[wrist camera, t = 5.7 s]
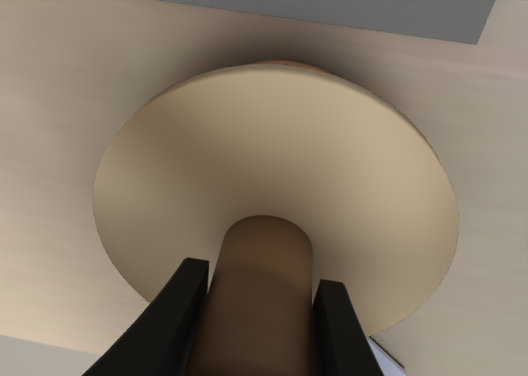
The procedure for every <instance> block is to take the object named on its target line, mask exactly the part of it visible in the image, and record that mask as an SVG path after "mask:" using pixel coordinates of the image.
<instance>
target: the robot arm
mask: <svg viewBox="0 0 528 376" xmlns="http://www.w3.org/2000/svg"><path fill="white" fill-rule="evenodd" d="M208 277H209V261H208V260H202V259H196V258H190V257H187V258H185V259H184V260H183V261H182V263H181V264H180V266H179V267H178V269H177V270H176V271H175V273H174V274H173V276H172V277H171V278H170V280H169V281H168V282H167V283H166V285H165V286H164V287H163V289H162V290H161V291H160V292H159V294H158V295H157V296H156V297H155V299H154V300H153V301H152V302H151V303H150V304H149V306H148V307H147V308H146V309H145V310H144V311H143V313H142V314H141V315H140V316H139V317H138V318H137V320H136V321H135V322H134V323H133V324H132V325H131V326H130V327H129V328H128V329H127V330H126V332H125V333H124V334H123V335H122V336H121V337H120V338H119V339H118V340H117V341H116V342H115V343H114V344H113V345H112V346H111V347H110V348H109V350H108V351H107V352H106V353H105V354H104V355H103V356H102V357H100V358H99V359H98V360H97V361H96V362H95V363H94V364H93V365H92V366H91V367H90V368H89V369H88V370H87V371H86V372H85V373H84V374H83V375H82V376H184V373H185V369H186V366H187V362H188V359H189V356H190V352H191V349H192V345H193V342H194V338H195V335H196V332H197V328H198V325H199V321H200V318H201V314H202V311H203V308H204V304H205V301H206V297H207V294H208ZM311 376H407V374H406V371H405V370H404V369H403V368H402V367H401V366H400V365H399V364H398V363H396V362H395V361H394V360H393V359H392V358H391V357H390V356H389V355H388V354H387V353H385V352H384V351H383V350H382V349H381V348H380V347H379V346H378V345H377V344H376V343H374V342H373V341H372V340H371V339H370V338H369V337H367V338H366V336H365V334H364V332H363V329H362V327H361V325H360V322H359V320H358V318H357V315H356V313H355V310H354V308H353V305H352V303H351V300H350V297H349V295H348V292H347V289H346V286H345V285H344V283H343V282H337V281H331V280H325V279H320V282H319V285H318V289H317V292H316V295H315V298H314V302H313V305H312V339H311Z"/></svg>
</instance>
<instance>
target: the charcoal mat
mask: <svg viewBox="0 0 528 376" xmlns="http://www.w3.org/2000/svg"><path fill="white" fill-rule="evenodd" d="M161 1H169V2H176V3H183V4H190V5H197V6H204V7H211V8H218V9H226V10H233V11H240V12H247V13H254V14H261V15H268V16H275V17H283V18H290V19H297V20H304V21H311V22H318V23H325V24H332V25H340V26H347V27H354V28H361V29H368V30H375V31H382V32H389V33H396V34H404V35H411V36H418V37H425V38H432V39H439V40H446V41H453V42H461V43H468V44H475V45H477V43H478V40H479V38H480V35H481V33H482V31H483V28H484V26H485V23H486V21H487V19H488V16H489V14H490V11H491V9H492V7H493V4H494V2H495V0H161Z"/></svg>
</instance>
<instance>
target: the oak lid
mask: <svg viewBox="0 0 528 376" xmlns="http://www.w3.org/2000/svg"><path fill="white" fill-rule="evenodd" d="M93 209H94V217H95V222H96V227H97V231H98V234H99V236H100V239H101V241H102V244H103V247H104V249H105V250H106V252H107V254H108V256H109V258H110V259H111V261H112V263H113V264H114V266H115V267H116V268H117V270H118V271H119V273H120V274H121V275H122V277H123V278H124V279H125V280H126V281H127V282H128V283H129V284H130V285H131V286H132V288H133V289H134V290H136V291H137V292H138V293H139V294H140V295H141V296H142V297H143V298H144V299H146V300H147V301H148V302H149V303H151V302H152V301H153V300H154V299H155V297H156V296H157V295H158V294H159V292H160V291H161V290H162V289H163V287H164V286H165V285H166V283H167V282H168V281H169V280H170V278H171V277H172V276H173V274H174V273H175V271H176V270H177V269H178V267H179V266H180V264H181V263H182V261H183V260H184V259H185V258H187V257H190V258H196V259H202V260H208V261H209V277H208V294H207V297H206V301H205V304H204V308H203V311H202V314H201V318H200V321H199V325H198V328H197V332H196V335H195V338H194V342H193V345H192V349H191V352H190V356H189V359H188V362H187V366H186V369H185V373H184V376H311V339H312V305H313V302H314V298H315V295H316V292H317V289H318V285H319V282H320V279H325V280H331V281H337V282H343V283H344V285H345V286H346V289H347V292H348V295H349V297H350V300H351V303H352V305H353V308H354V310H355V313H356V315H357V318H358V320H359V322H360V325H361V327H362V329H363V332H364V334H365V336H366V338H367V337H369V336H372V335H374V334H376V333H379V332H381V331H384V330H386V329H387V328H389V327H391V326H393V325H395V324H397V323H398V322H400V321H402V320H403V319H404V318H406V317H407V316H409V315H410V314H412V313H413V312H414V311H416V310H417V309H418V308H419V307H420V306H421V305H422V304H423V303H424V302H425V301H427V300H428V299H429V297H430V296H431V295H432V294H433V293H434V291H435V290H436V289H437V288H438V286H439V285H440V284H441V282H442V280H443V279H444V277H445V275H446V273H447V272H448V270H449V268H450V265H451V262H452V260H453V257H454V255H455V251H456V246H457V240H458V235H459V215H458V210H457V205H456V199H455V194H454V192H453V190H452V187H451V185H450V182H449V180H448V177H447V175H446V172H445V171H444V169H443V167H442V165H441V163H440V161H439V159H438V157H437V155H436V154H435V152H434V150H433V149H432V147H431V146H430V144H429V142H428V141H427V139H426V138H425V137H424V135H423V134H422V133H421V132H420V131H419V130H418V129H417V128H416V126H415V125H414V124H413V123H412V122H411V121H410V120H409V119H408V118H407V117H406V116H405V115H403V114H402V113H401V112H400V111H399V110H397V109H396V108H395V107H394V106H393V105H391V104H390V103H389V102H387V101H386V100H384V99H382V98H381V97H379V96H377V95H376V94H374V93H372V92H371V91H369V90H367V89H366V88H364V87H361V86H359V85H357V84H354V83H352V82H350V81H347V80H345V79H343V78H340V77H338V76H334V75H331V74H327V73H324V72H320V71H316V70H313V69H308V68H301V67H294V66H287V65H271V64H250V65H242V66H234V67H226V68H221V69H217V70H213V71H210V72H206V73H202V74H198V75H195V76H193V77H191V78H188V79H186V80H184V81H182V82H179V83H177V84H175V85H173V86H171V87H169V88H168V89H166V90H165V91H163V92H161V93H160V94H158V95H157V96H155V97H153V98H152V99H151V100H150V101H149V102H148V103H146V104H145V105H144V106H143V107H142V108H141V109H140V110H139V111H137V112H136V113H135V114H134V115H133V116H132V118H131V119H130V120H129V121H128V122H127V123H126V124H125V125H124V126H123V127H122V129H121V130H120V131H119V132H118V134H117V135H116V136H115V137H114V139H113V140H112V141H111V142H110V144H109V146H108V148H107V150H106V152H105V153H104V155H103V157H102V159H101V161H100V164H99V168H98V171H97V174H96V177H95V183H94V191H93Z"/></svg>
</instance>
